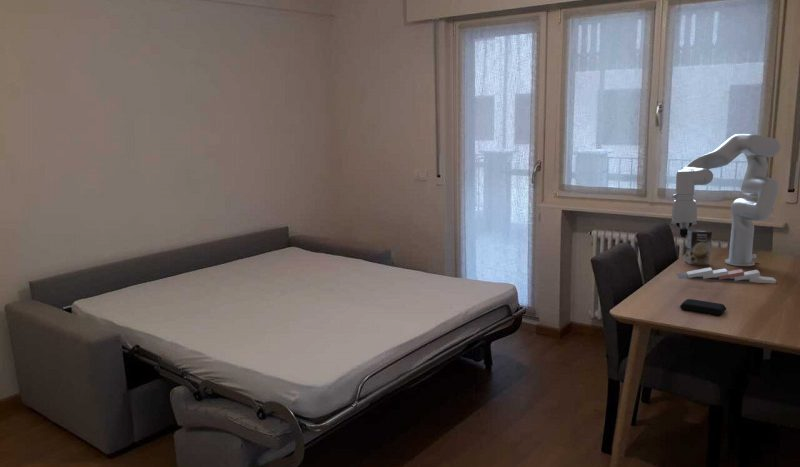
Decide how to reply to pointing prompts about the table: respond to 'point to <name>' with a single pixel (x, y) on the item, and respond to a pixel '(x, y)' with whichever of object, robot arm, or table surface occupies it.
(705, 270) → the domino
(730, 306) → the table surface
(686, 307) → the carrying case or bag
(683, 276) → the domino mat
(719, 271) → the domino
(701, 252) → the coffee box
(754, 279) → the domino
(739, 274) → the red domino
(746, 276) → the domino
